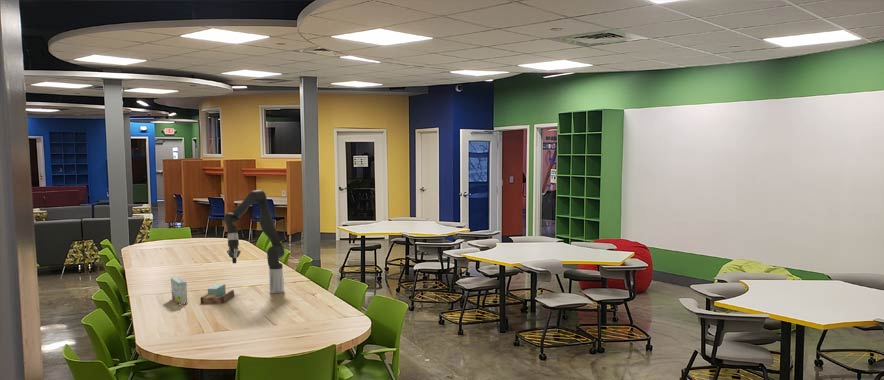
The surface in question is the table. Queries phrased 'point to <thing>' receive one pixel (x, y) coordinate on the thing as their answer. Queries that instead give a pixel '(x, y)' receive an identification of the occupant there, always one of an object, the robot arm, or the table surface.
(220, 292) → the block
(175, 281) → the snack box
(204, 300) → the brown u-shaped block
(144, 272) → the table surface
